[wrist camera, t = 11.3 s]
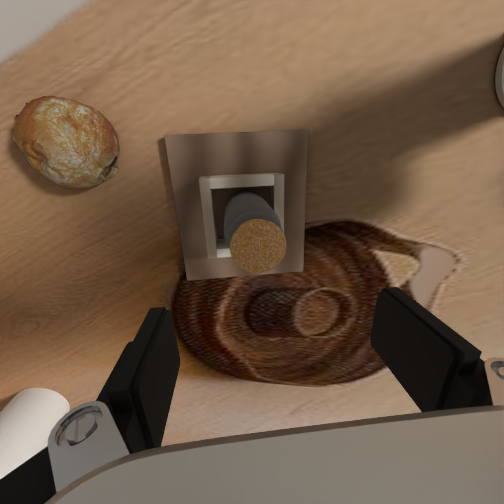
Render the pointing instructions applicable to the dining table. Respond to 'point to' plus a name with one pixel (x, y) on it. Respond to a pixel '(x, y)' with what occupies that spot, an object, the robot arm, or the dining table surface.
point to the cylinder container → (28, 425)
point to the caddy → (229, 182)
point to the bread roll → (67, 142)
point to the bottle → (253, 232)
